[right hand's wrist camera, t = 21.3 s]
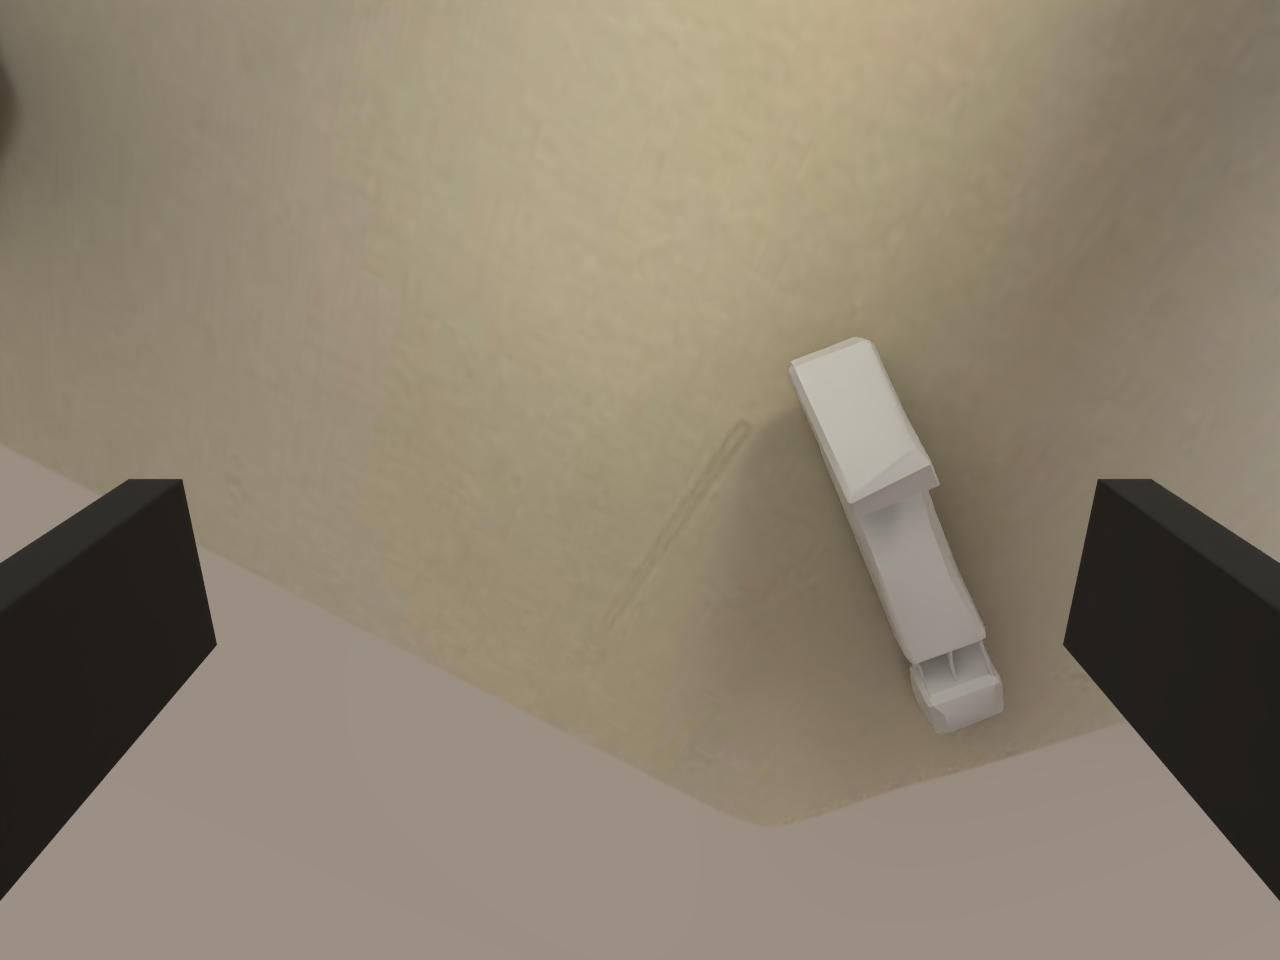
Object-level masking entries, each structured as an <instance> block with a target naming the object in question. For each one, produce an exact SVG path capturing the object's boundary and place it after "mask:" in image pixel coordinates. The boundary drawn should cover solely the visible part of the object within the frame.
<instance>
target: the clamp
mask: <svg viewBox="0 0 1280 960" xmlns="http://www.w3.org/2000/svg"><path fill="white" fill-rule="evenodd" d="M788 373H789V379H790V381H791V384H792V386H793V388H794V390H795V392H796V394H797V397H798V399H799V402H800V404H801V406H802V408H803V411H804V413H805V415H806V417H807V419H808V422H809V424H810V426H811V428H812V431H813V433H814V435H815V438H816V440H817V442H818V444H819V447H820V451H821V454H822V457H823V460H824V462H825V464H826V467H827V469H828V472H829V474H830V477H831V479H832V481H833V484H834V486H835V489H836V491H837V494H838V496H839V499H840V501H841V504H842V506H843V509H844V511H845V514H846V516H847V519H848V521H849V524H850V526H851V529H852V531H853V534H854V536H855V539H856V541H857V544H858V546H859V549H860V551H861V554H862V556H863V559H864V561H865V564H866V566H867V569H868V571H869V574H870V576H871V579H872V581H873V584H874V586H875V589H876V591H877V594H878V596H879V599H880V602H881V604H882V607H883V609H884V612H885V614H886V617H887V619H888V622H889V624H890V627H891V629H892V632H893V634H894V636H895V638H896V640H897V642H898V644H899V646H900V648H901V650H902V651H903V653H904V655H905V657H906V658H907V659H908V660H909V662H911V663H912V666H911V667H910V668H909V671H910V678H911V685H912V689H913V692H914V695H915V698H916V700H917V703H918V705H919V707H920V709H921V711H922V713H923V715H924V716H925V718H926V719H927V720H928V722H929V723H930V725H931V726H932V727H933V729H934V730H935V732H936V733H952V732H954V731H957V730H959V729H962V728H964V727H966V726H969V725H971V724H974V723H976V722H979V721H981V720H984V719H986V718H989V717H991V716H994V715H996V714H999V713H1001V712H1002V711H1003V710H1004V700H1003V690H1002V681H1001V678H1000V677H999V675H998V673H997V671H996V669H995V667H994V665H993V663H992V661H991V659H990V658H989V656H988V654H987V652H986V650H985V647H984V644H983V641H982V640H983V639H984V638H985V637H986V632H985V626H984V623H983V621H982V619H981V617H980V615H979V613H978V611H977V609H976V607H975V604H974V602H973V600H972V598H971V596H970V594H969V592H968V590H967V588H966V585H965V583H964V581H963V579H962V577H961V575H960V573H959V571H958V568H957V566H956V563H955V561H954V558H953V556H952V553H951V550H950V548H949V545H948V543H947V540H946V537H945V535H944V532H943V530H942V527H941V524H940V522H939V519H938V517H937V514H936V512H935V508H934V505H933V502H932V499H931V496H930V492H929V490H930V489H933V488H935V487H938V486H939V485H940V482H939V480H938V477H937V475H936V473H935V470H934V468H933V465H932V463H931V460H930V459H929V457H928V455H927V453H926V451H925V449H924V447H923V446H922V444H921V442H920V440H919V438H918V436H917V434H916V432H915V431H914V429H913V427H912V425H911V423H910V421H909V419H908V418H907V416H906V414H905V412H904V409H903V407H902V405H901V403H900V401H899V398H898V396H897V394H896V392H895V389H894V387H893V385H892V383H891V381H890V378H889V376H888V374H887V372H886V370H885V367H884V365H883V363H882V361H881V358H880V356H879V354H878V352H877V350H876V347H875V345H874V343H873V342H871V341H869V340H866V339H864V338H856V337H853V338H850V339H847V340H845V341H842V342H840V343H837V344H834V345H832V346H829V347H826V348H824V349H821V350H818V351H816V352H813V353H811V354H808V355H805V356H803V357H800V358H797V359H795V360H792V361H790V365H789V370H788Z"/></svg>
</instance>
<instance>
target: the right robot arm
mask: <svg viewBox="0 0 1280 960" xmlns="http://www.w3.org/2000/svg"><path fill="white" fill-rule="evenodd" d="M216 645H217V643H216V638H215V633H214V629H213V624H212V619H211V614H210V610H209V605H208V600H207V595H206V590H205V586H204V581H203V576H202V571H201V567H200V562H199V557H198V552H197V548H196V543H195V538H194V533H193V528H192V524H191V519H190V514H189V509H188V505H187V500H186V495H185V490H184V486H183V481H182V479H128V480H127V481H125V482H124V483H122V484H121V485H119V486H118V487H116V488H115V489H113V490H112V491H110V492H108V493H107V494H105V495H104V496H102V497H101V498H99V499H98V500H96V501H95V502H93V503H92V504H90V505H89V506H87V507H86V508H84V509H83V510H81V511H79V512H78V513H76V514H75V515H73V516H72V517H70V518H69V519H67V520H66V521H64V522H63V523H61V524H60V525H58V526H57V527H55V528H53V529H52V530H50V531H49V532H47V533H46V534H44V535H43V536H41V537H40V538H38V539H37V540H35V541H34V542H32V543H30V544H29V545H27V546H26V547H24V548H23V549H21V550H20V551H18V552H17V553H15V554H14V555H12V556H11V557H9V558H8V559H6V560H5V561H3V562H2V563H0V900H1V899H2V898H3V897H4V896H5V895H6V893H7V892H8V891H9V890H10V889H11V887H12V886H13V885H14V884H15V883H16V882H17V880H18V879H19V878H20V877H21V876H22V874H23V873H24V872H25V871H26V870H27V869H28V867H29V866H30V865H31V864H32V863H33V861H34V860H35V859H36V858H37V857H38V856H39V854H40V853H41V852H42V851H43V850H44V848H45V847H46V846H47V845H48V844H49V843H50V841H51V840H52V839H53V838H54V837H55V835H56V834H57V833H58V832H59V831H60V830H61V828H62V827H63V826H64V825H65V824H66V822H67V821H68V820H69V819H70V818H71V817H72V815H73V814H74V813H75V812H76V811H77V809H78V808H79V807H80V806H81V805H82V804H83V802H84V801H85V800H86V799H87V798H88V797H89V795H90V794H91V793H92V792H93V791H94V789H95V788H96V787H97V786H98V785H99V783H100V782H101V781H102V780H103V779H104V778H105V776H106V775H107V774H108V773H109V772H110V771H111V769H112V768H113V767H114V766H115V765H116V763H117V762H118V761H119V760H120V759H121V757H122V756H123V755H124V754H125V753H126V752H127V750H128V749H129V748H130V747H131V746H132V745H133V743H134V742H135V741H136V740H137V739H138V737H139V736H140V735H141V734H142V733H143V732H144V730H145V729H146V728H147V727H148V726H149V724H150V723H151V722H152V721H153V720H154V719H155V717H156V716H157V715H158V714H159V713H160V711H161V710H162V709H163V708H164V707H165V706H166V704H167V703H168V702H169V701H170V700H171V698H172V697H173V696H174V695H175V694H176V693H177V691H178V690H179V689H180V688H181V687H182V685H183V684H184V683H185V682H186V681H187V679H188V678H189V677H190V676H191V675H192V674H193V672H194V671H195V670H196V669H197V668H198V666H199V665H200V664H201V663H202V662H203V661H204V659H205V658H206V657H207V656H208V655H209V654H210V652H211V651H212V650H213V649H214V648H215V646H216ZM1063 645H1064V646H1065V648H1066V649H1067V650H1068V651H1069V652H1070V654H1071V655H1072V656H1073V657H1074V658H1075V659H1076V661H1077V662H1078V663H1079V664H1080V665H1081V667H1082V668H1083V669H1084V670H1085V671H1086V672H1087V674H1088V675H1089V676H1090V677H1091V678H1092V680H1093V681H1094V682H1095V683H1096V684H1097V685H1098V687H1099V688H1100V689H1101V690H1102V691H1103V693H1104V694H1105V695H1106V696H1107V697H1108V698H1109V700H1110V701H1111V702H1112V703H1113V704H1114V706H1115V707H1116V708H1117V709H1118V710H1119V711H1120V713H1121V714H1122V715H1123V716H1124V717H1125V719H1126V720H1127V721H1128V722H1129V723H1130V724H1131V726H1132V727H1133V728H1134V729H1135V730H1136V732H1137V733H1138V734H1139V735H1140V736H1141V737H1142V739H1143V740H1144V741H1145V742H1146V743H1147V745H1148V746H1149V747H1150V748H1151V749H1152V750H1153V752H1154V753H1155V754H1156V755H1157V756H1158V757H1159V759H1160V760H1161V761H1162V762H1163V763H1164V765H1165V766H1166V767H1167V768H1168V769H1169V770H1170V772H1171V773H1172V774H1173V775H1174V776H1175V778H1176V779H1177V780H1178V781H1179V782H1180V783H1181V785H1182V786H1183V787H1184V788H1185V789H1186V791H1187V792H1188V793H1189V794H1190V795H1191V797H1192V798H1193V799H1194V800H1195V801H1196V802H1197V803H1198V805H1199V806H1200V807H1201V808H1202V810H1203V811H1204V812H1205V813H1206V814H1207V815H1208V817H1209V818H1210V819H1211V820H1212V821H1213V822H1214V824H1215V825H1216V826H1217V827H1218V828H1219V830H1220V831H1221V832H1222V833H1223V834H1224V835H1225V837H1226V838H1227V839H1228V840H1229V841H1230V843H1231V844H1232V845H1233V846H1234V847H1235V848H1236V850H1237V851H1238V852H1239V853H1240V854H1241V856H1242V857H1243V858H1244V859H1245V860H1246V861H1247V863H1248V864H1249V865H1250V866H1251V867H1252V869H1253V870H1254V871H1255V872H1256V873H1257V874H1258V876H1259V877H1260V878H1261V879H1262V880H1263V882H1264V883H1265V884H1266V885H1267V886H1268V887H1269V889H1270V890H1271V891H1272V892H1273V893H1274V895H1275V896H1276V897H1277V898H1278V899H1279V900H1280V563H1279V562H1277V561H1276V560H1274V559H1272V558H1271V557H1269V556H1268V555H1266V554H1265V553H1263V552H1262V551H1260V550H1259V549H1257V548H1256V547H1254V546H1253V545H1251V544H1250V543H1248V542H1246V541H1245V540H1243V539H1242V538H1240V537H1239V536H1237V535H1236V534H1234V533H1233V532H1231V531H1230V530H1228V529H1227V528H1225V527H1224V526H1222V525H1220V524H1219V523H1217V522H1216V521H1214V520H1213V519H1211V518H1210V517H1208V516H1207V515H1205V514H1204V513H1202V512H1201V511H1199V510H1198V509H1196V508H1194V507H1193V506H1191V505H1190V504H1188V503H1187V502H1185V501H1184V500H1182V499H1181V498H1179V497H1178V496H1176V495H1175V494H1173V493H1172V492H1170V491H1168V490H1167V489H1165V488H1164V487H1162V486H1161V485H1159V484H1158V483H1156V482H1155V481H1153V480H1152V479H1098V481H1097V486H1096V490H1095V495H1094V500H1093V505H1092V509H1091V514H1090V519H1089V524H1088V528H1087V533H1086V538H1085V543H1084V548H1083V552H1082V557H1081V562H1080V567H1079V571H1078V576H1077V581H1076V586H1075V590H1074V595H1073V600H1072V605H1071V609H1070V614H1069V619H1068V624H1067V629H1066V633H1065V638H1064V643H1063Z"/></svg>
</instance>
